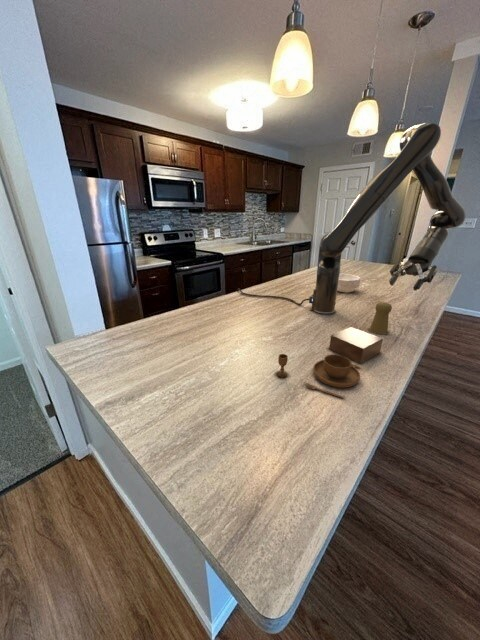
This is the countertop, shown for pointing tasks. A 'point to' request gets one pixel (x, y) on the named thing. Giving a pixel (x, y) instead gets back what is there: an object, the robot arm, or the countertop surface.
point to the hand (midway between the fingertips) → (402, 286)
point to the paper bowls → (348, 283)
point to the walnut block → (355, 344)
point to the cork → (381, 318)
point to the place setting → (329, 371)
